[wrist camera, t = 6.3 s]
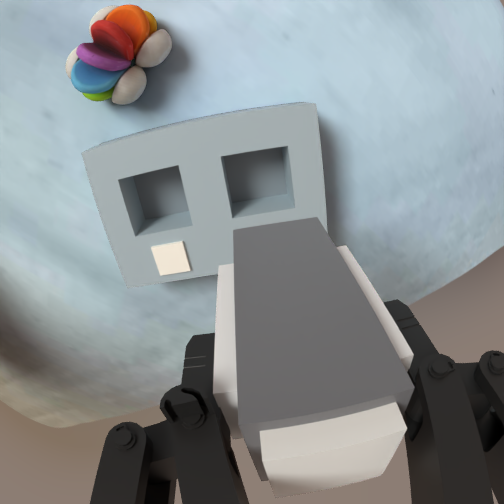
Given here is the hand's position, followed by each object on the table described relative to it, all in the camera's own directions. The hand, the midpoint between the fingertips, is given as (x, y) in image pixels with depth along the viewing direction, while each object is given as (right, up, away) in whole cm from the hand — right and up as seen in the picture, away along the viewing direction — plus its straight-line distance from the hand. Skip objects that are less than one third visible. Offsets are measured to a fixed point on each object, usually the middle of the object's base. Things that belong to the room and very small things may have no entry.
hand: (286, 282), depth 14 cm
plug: (0, +1, +2) cm, 2 cm away
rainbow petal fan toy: (-14, +20, +10) cm, 26 cm away
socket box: (-5, +8, +17) cm, 19 cm away
